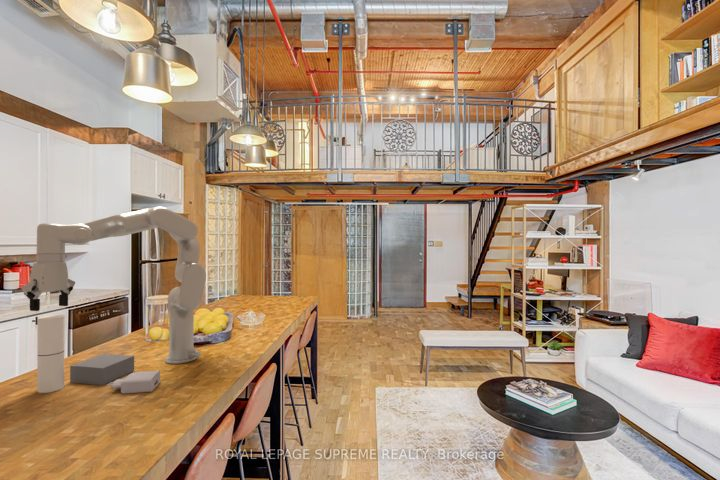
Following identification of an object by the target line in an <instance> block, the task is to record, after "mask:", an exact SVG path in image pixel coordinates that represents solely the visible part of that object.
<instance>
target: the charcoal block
mask: <svg viewBox="0 0 720 480" xmlns="http://www.w3.org/2000/svg"><path fill="white" fill-rule="evenodd" d="M69 370H70V371H69V382H70V383H76V384H85V385H86V384H88V385H99V386H104V385H107V384H110V382H114V381H115V380H117V379H121V378H122V377H124V376H126V375H127V376H128V375H129V374H131V373H133V372H135V355H125V354H112V353H103V354H99V355H96V356H93V357H91V358H88V359H85V360H82V361H80V362H77V363H74V364H72V365H69Z"/></svg>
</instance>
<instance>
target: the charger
mask: <svg viewBox="0 0 720 480" xmlns="http://www.w3.org/2000/svg"><path fill="white" fill-rule="evenodd" d="M160 382H161V370H150V371H137V372H136V371H133V372H131V373H129V374H127V376H125V377H124V378H118V379H115V380H113V381H111V382H109V383H106V386H111V388H112V389H120V393H121V394H123V395H125V394H139V393H140V394H141V393H151V392H153V391H154V390H155V389H156V388H157V386H158V385H159V384H160Z"/></svg>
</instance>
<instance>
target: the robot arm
mask: <svg viewBox="0 0 720 480" xmlns="http://www.w3.org/2000/svg"><path fill="white" fill-rule="evenodd" d="M154 229H161V230H162V231H165V232H167V233H168V234H169V236H170V238H172V239H173V240H174V241H175V243H176V244H177V246H178V247H177V248H178V254H177V260H176V265H175V270H174V278H175V279H176V281H178V282H179V283H180V285H179V286H176V287H174V288H172V289H171V290H170V291H169V293H168V296H167V307H168V316H169V317H168V318H169V320H168V322H169V324H168V325H169V327H168V332H169V333H168V341H169V343H168V356H166V357H164V362H165V363H167V364H170V365H172V364H173V365H176V364H185V363H189V362H192V361H194V360H197V359H198V358H200V357H201V353H202V351H201V350H197V348H196V347H194V344H195V341H194V339H195V337H194V335H195V333H194V331H195V330H194V326H195V322H194V321H195V320H194V319H195V316H194V311H195V310H197V308H199V307H200V305H201V304H202V301H203V297H204V292H205V285H206V279H207V273H206V269H205V268H204V266H203V264H200V263H199V261H200V254H201V247H200V242H199V240H198V237H197V236H198V233H199V228H198V226H197V224H196V223H195V222H193V220H191V219H189V218H187V217H185V216H183V215H180V214H179V213H177V212H175V211H173V210H171V209H169V208H167V207H164V206H154V207H148V208H143V209H140V210H139V209H138V210H133V211H127V212H124V213H118V214H114V215H111V216H108V217H104V218H100V219H95V220H90V221H86V222H81V223H74V224H73V223H72V224H61V223H48V222H47V223H39V224H38V225H37V228H36V255H35V257H36V261H35V263H33V264H32V267H31V271H30V275H29V282H28V283H26V284H25V285H22V286H21V288H20V289H21V290H22V292H23V294H24V296H25V297H27V299H28V300H29V311H31V312H39V311H40V308H41V307H40V306H41V300H40V296H41V295H42V294H43V293H52V292H59V293H60V294H59V295H58V306H60V307H68V305H69V295H70V294H71V292H72V291H73V289H74V286H75V284H76V281H74V280H72V279H70V278H69V273H68V266H67V262H66V261H65V260H66V259H68V256H67V255H66V254H65V253H66V244H69V245H70V244H71V245H77V246H80V245H86V244H88V243H90V242H93V241H97V240H102V239H107V238H116V237H118V238H119V237H124V236H129V235H134V234H137V233H141V232H145V231H150V230H154Z"/></svg>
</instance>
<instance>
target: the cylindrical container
mask: <svg viewBox="0 0 720 480" xmlns="http://www.w3.org/2000/svg"><path fill="white" fill-rule="evenodd" d="M36 329H37V346H36V347H37V351H36V352H37V355H36V356H37V366H36V367H37V369H36V370H37V371H36V372H37V373H36V374H37V375H36V376H37V377H36V378H37V382H36V383H37V384H36V385H37V387H36V391H37V393H39V394H46V393H53V392H56V391H59V390H62V389H63V388H65V315H64V314H54V315H53V314H50V315H49V314H48V315H44V316H39V317H37V328H36Z"/></svg>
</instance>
